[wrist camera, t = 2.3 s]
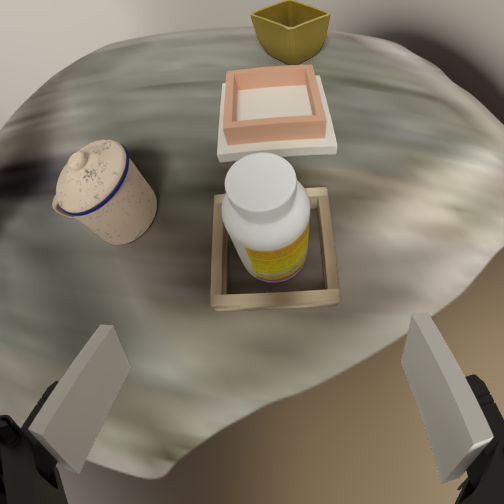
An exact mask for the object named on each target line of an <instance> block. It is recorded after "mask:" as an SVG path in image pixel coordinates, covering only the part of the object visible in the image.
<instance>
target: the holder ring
mask: <svg viewBox="0 0 504 504" xmlns="http://www.w3.org/2000/svg"><path fill="white" fill-rule="evenodd" d="M304 189H305V190H306V192H307V195H308V197H309V201H310V208H317V215H318V224H319V233H320V242H321V252H322V262H323V274H324V286H325V290H311V291H294V292H276V293H255V294H230V295H227V260H228V232H227V230H226V228H225V225H224V223H223V219H222V202H223V199H224V196H225V194H221V195H214V213H213V235H212V262H211V298H210V306H211V307H212V308H214V309H215V310H216V311H238V310H265V309H286V308H304V307H320V306H334V305H337V304H338V302H339V300H340V294H339V283H338V273H337V263H336V254H335V246H334V237H333V229H332V222H331V214H330V207H329V200H328V194H327V187H318V188H304Z"/></svg>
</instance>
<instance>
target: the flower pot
mask: <svg viewBox="0 0 504 504" xmlns="http://www.w3.org/2000/svg"><path fill="white" fill-rule="evenodd" d="M250 16H251V19H252V22H253V24H254V28H255V31H256V35H257V37H258V40H259V41H260V43H261V45H262V46H263V47H264V49H265V50H266V51H267V52H268V53H269V54H270V55H271V56H272V57H274V58H276V59H278V60H280V61H282V62H284V63H286V64H288V65H298V64H300V63H301V62H303V61H305V60H307V59H309V58H311V57H313V56H314V55H315V54H316V53H317V52H318V51H319V49H320V48H321V46H322V45H323V43H324V41H325V38H326V34H327V29H328V24H329V19H330V13H328V12H326V11H323V10H321V9H318V8H315V7H313V6H310V5H307V4H304V3H301V2H298V1H294V0H285V1H282V2H279V3H276V4H273V5H271V6H268V7H265V8H263V9H260V10H257V11H255V12H253V13H251V14H250Z"/></svg>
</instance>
